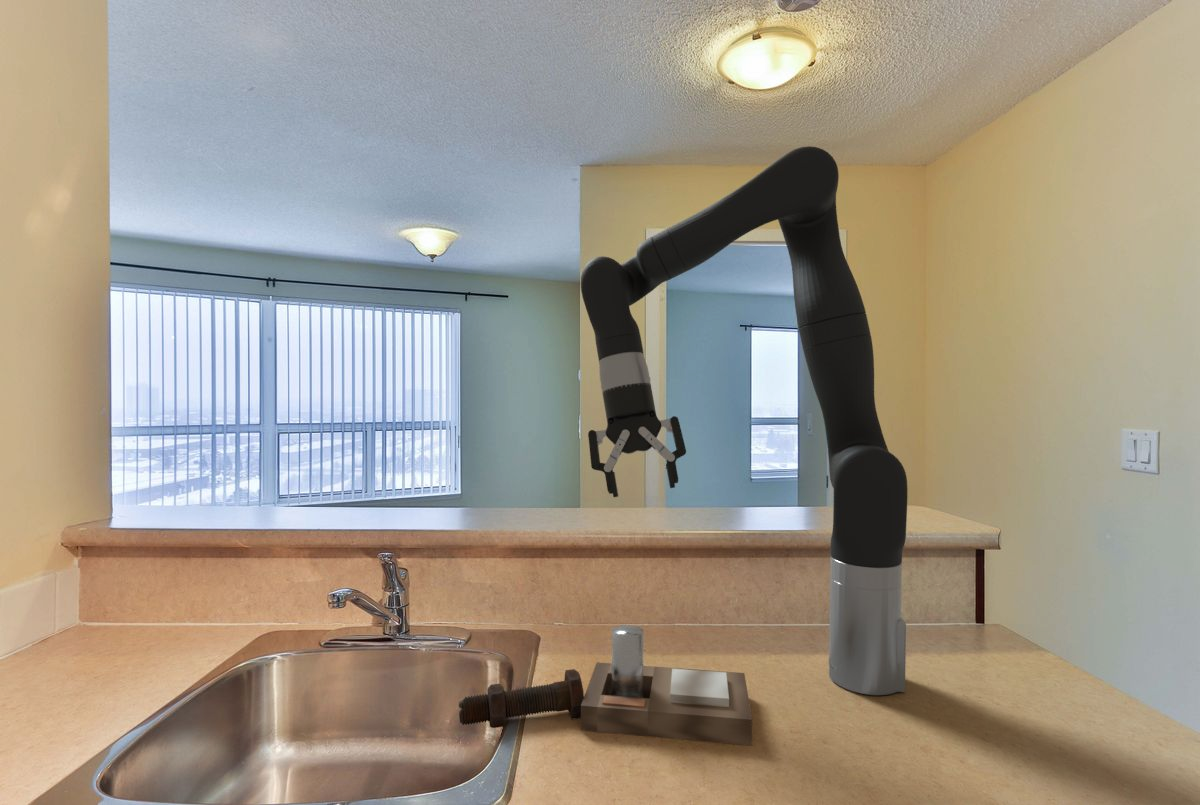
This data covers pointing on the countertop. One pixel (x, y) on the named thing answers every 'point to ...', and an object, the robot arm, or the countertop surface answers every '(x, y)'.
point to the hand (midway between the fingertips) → (644, 492)
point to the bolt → (523, 701)
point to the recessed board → (672, 705)
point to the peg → (627, 661)
